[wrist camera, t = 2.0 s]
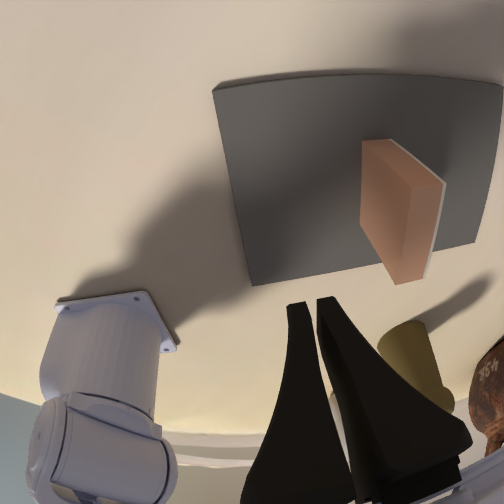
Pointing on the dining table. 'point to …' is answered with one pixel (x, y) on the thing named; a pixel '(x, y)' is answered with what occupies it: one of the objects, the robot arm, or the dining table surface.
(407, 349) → the cork
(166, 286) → the dining table surface
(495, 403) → the jug
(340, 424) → the donut
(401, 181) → the tile
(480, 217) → the mat
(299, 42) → the dining table surface
